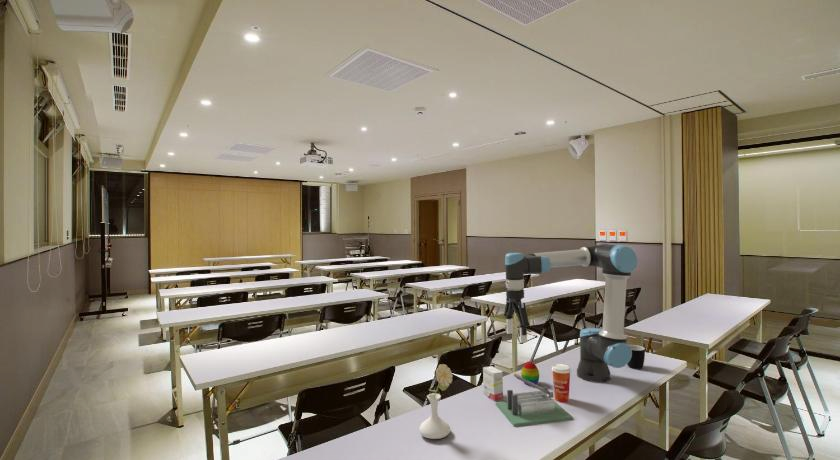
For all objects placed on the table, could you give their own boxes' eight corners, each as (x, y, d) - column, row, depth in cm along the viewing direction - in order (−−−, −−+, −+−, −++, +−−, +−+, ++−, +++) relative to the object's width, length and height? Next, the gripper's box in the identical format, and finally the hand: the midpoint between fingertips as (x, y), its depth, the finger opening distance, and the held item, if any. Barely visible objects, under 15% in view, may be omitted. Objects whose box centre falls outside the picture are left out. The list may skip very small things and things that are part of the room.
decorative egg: (539, 387, 181) (538, 365, 181) (520, 385, 184) (520, 364, 184) (539, 380, 189) (539, 359, 189) (522, 378, 192) (521, 358, 191)
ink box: (503, 399, 171) (503, 371, 170) (494, 401, 169) (493, 373, 168) (492, 391, 178) (491, 365, 178) (483, 393, 176) (482, 367, 176)
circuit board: (548, 398, 170) (548, 396, 170) (572, 419, 152) (572, 416, 152) (495, 404, 165) (495, 402, 165) (513, 426, 148) (513, 423, 148)
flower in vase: (427, 445, 136) (425, 373, 136) (414, 430, 147) (412, 363, 146) (460, 436, 142) (458, 367, 141) (445, 422, 152) (444, 357, 152)
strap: (546, 392, 162) (548, 389, 162) (550, 396, 158) (552, 392, 158) (513, 375, 159) (514, 372, 159) (516, 379, 156) (518, 375, 156)
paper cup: (549, 399, 169) (548, 367, 168) (556, 393, 174) (556, 362, 174) (567, 405, 163) (566, 371, 163) (574, 399, 169) (574, 366, 169)
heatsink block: (544, 401, 165) (543, 384, 165) (556, 412, 155) (556, 395, 155) (510, 405, 162) (510, 388, 162) (521, 417, 152) (521, 399, 152)
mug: (648, 367, 202) (648, 347, 202) (639, 371, 197) (639, 351, 197) (625, 361, 212) (625, 342, 212) (616, 364, 207) (615, 345, 207)
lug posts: (512, 410, 160) (511, 389, 160) (517, 416, 155) (517, 395, 155) (507, 411, 160) (507, 390, 159) (512, 417, 154) (512, 395, 154)
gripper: (495, 285, 182) (497, 330, 183) (519, 294, 158) (521, 347, 158) (511, 283, 183) (512, 329, 184) (537, 293, 159) (538, 345, 159)
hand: (516, 337), depth 171 cm, fingers open, 13 cm apart
